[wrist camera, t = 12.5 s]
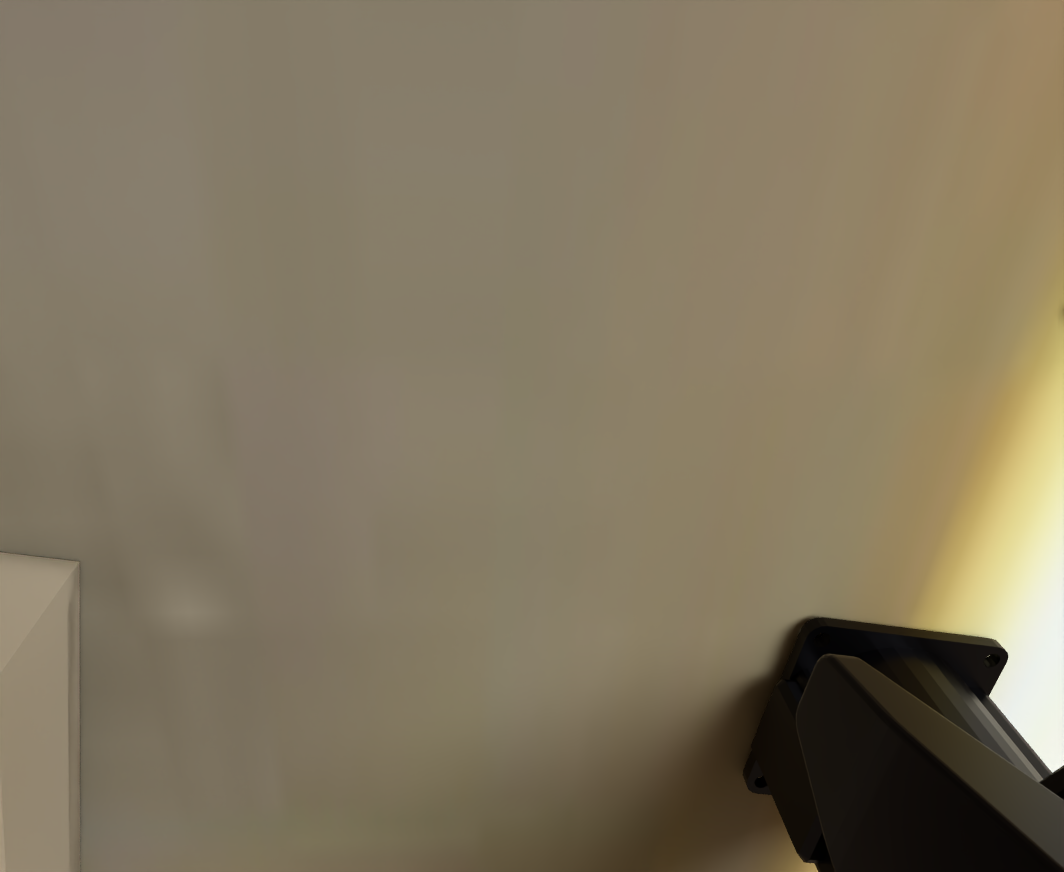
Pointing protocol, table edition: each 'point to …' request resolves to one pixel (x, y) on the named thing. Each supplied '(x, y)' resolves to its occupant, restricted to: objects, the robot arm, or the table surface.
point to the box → (39, 714)
